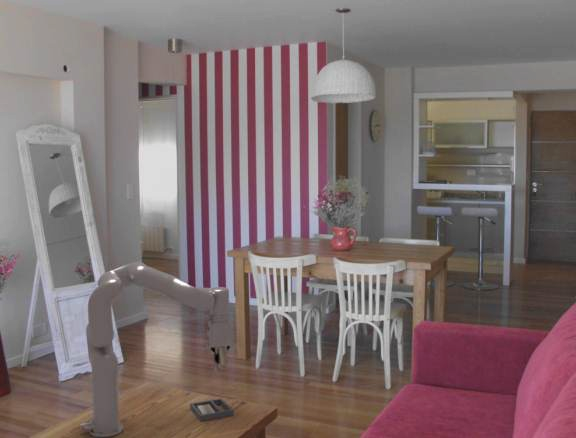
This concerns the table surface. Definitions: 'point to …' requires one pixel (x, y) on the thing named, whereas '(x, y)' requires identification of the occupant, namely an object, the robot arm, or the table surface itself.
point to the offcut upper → (205, 409)
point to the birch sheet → (220, 360)
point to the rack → (213, 404)
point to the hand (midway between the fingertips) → (220, 362)
